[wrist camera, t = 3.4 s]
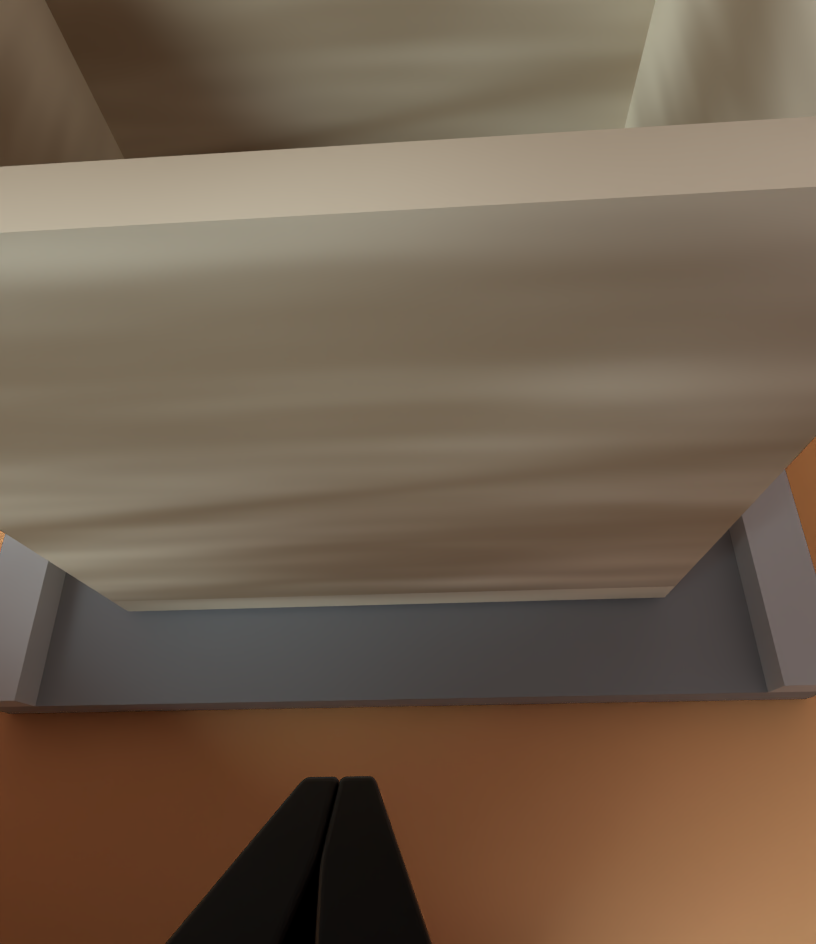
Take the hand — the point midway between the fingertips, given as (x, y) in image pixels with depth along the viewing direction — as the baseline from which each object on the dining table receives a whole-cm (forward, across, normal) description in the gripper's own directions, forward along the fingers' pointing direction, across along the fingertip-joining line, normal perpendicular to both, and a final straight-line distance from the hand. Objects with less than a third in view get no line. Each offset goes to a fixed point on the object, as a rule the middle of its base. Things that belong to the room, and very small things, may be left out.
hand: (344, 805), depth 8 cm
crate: (+10, 0, -2) cm, 10 cm away
